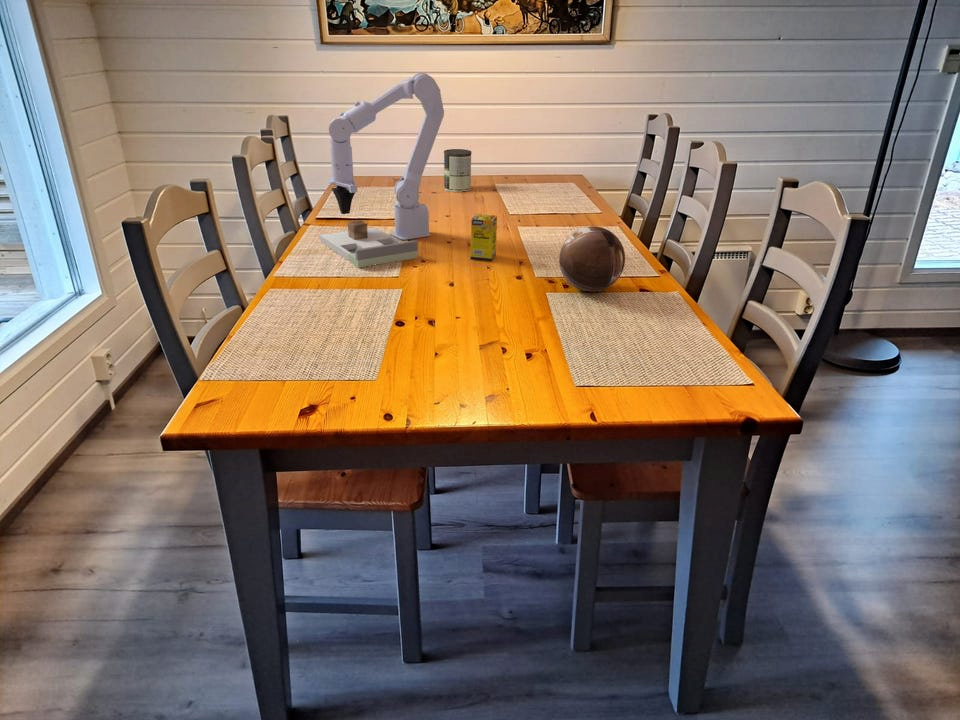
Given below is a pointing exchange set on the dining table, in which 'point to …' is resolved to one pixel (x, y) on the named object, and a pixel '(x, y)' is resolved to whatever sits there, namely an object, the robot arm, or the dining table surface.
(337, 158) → the robot arm
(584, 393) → the dining table surface
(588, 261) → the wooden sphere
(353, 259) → the board
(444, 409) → the dining table surface
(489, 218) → the supplement box
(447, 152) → the coffee can
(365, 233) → the walnut block
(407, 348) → the dining table surface
